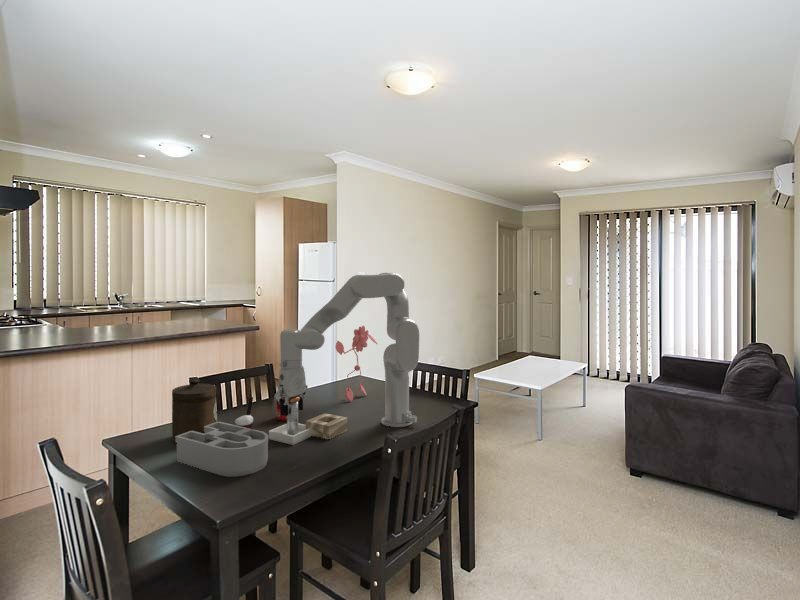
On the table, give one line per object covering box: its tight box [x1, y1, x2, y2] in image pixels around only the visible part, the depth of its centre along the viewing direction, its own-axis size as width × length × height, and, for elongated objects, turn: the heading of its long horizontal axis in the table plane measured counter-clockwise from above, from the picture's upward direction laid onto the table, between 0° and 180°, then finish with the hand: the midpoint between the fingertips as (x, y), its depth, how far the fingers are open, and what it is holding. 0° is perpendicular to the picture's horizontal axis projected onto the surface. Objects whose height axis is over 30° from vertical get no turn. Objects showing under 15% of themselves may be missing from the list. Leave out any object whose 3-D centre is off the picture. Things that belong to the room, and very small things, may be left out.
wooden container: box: [171, 377, 218, 444], centre depth 166 cm, size 15×15×22 cm
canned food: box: [276, 396, 287, 422], centre depth 188 cm, size 8×8×11 cm
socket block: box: [305, 412, 349, 440], centre depth 172 cm, size 11×11×5 cm
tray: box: [268, 422, 314, 446], centre depth 167 cm, size 12×12×3 cm
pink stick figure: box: [335, 325, 378, 403], centre depth 215 cm, size 15×26×35 cm, turn 146°
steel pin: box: [286, 395, 300, 435], centre depth 167 cm, size 5×5×14 cm
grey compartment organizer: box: [175, 421, 269, 477], centre depth 145 cm, size 17×28×9 cm, turn 61°
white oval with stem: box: [234, 396, 254, 429], centre depth 172 cm, size 10×6×12 cm, turn 141°
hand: (291, 411), depth 166 cm, fingers open, 7 cm apart
